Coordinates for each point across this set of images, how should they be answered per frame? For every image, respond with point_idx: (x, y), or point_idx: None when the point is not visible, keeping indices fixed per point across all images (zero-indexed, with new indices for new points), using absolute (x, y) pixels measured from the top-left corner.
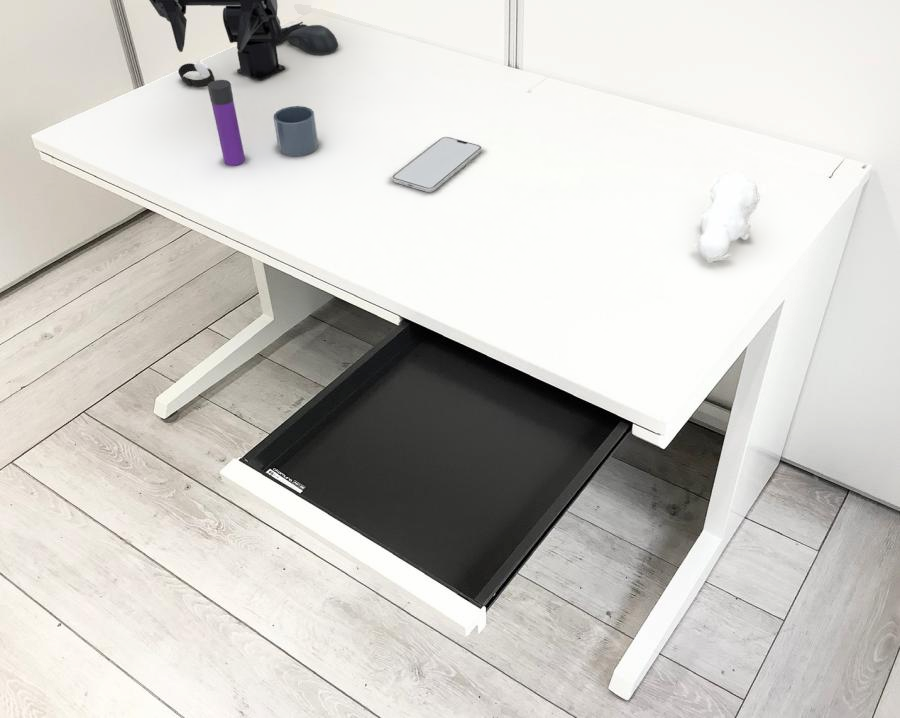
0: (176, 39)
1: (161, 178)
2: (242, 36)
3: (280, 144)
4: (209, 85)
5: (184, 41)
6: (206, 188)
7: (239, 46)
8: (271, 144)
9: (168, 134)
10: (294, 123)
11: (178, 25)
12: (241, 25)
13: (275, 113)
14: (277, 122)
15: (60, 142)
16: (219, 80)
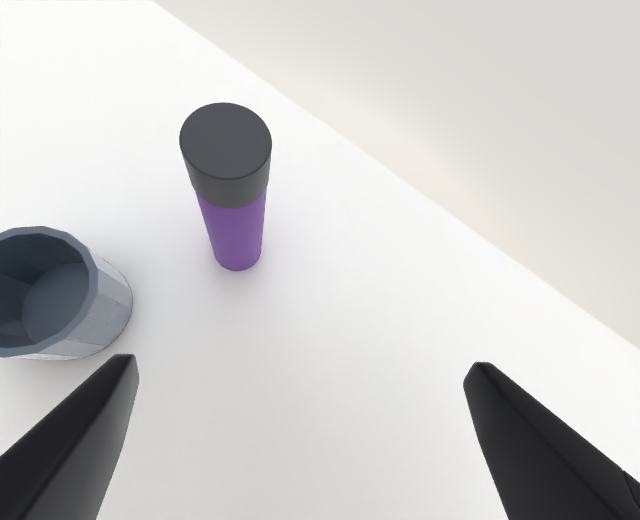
0: (526, 397)
1: (372, 194)
2: (52, 413)
3: (114, 268)
4: (263, 134)
5: (492, 474)
6: (276, 150)
7: (111, 358)
8: (155, 326)
9: (423, 385)
10: (24, 228)
11: (588, 483)
12: (1, 506)
13: (91, 301)
14: (84, 245)
15: (621, 349)
16: (230, 170)
